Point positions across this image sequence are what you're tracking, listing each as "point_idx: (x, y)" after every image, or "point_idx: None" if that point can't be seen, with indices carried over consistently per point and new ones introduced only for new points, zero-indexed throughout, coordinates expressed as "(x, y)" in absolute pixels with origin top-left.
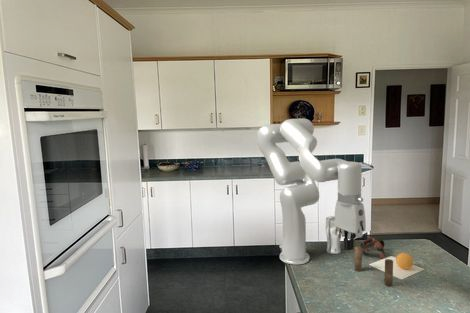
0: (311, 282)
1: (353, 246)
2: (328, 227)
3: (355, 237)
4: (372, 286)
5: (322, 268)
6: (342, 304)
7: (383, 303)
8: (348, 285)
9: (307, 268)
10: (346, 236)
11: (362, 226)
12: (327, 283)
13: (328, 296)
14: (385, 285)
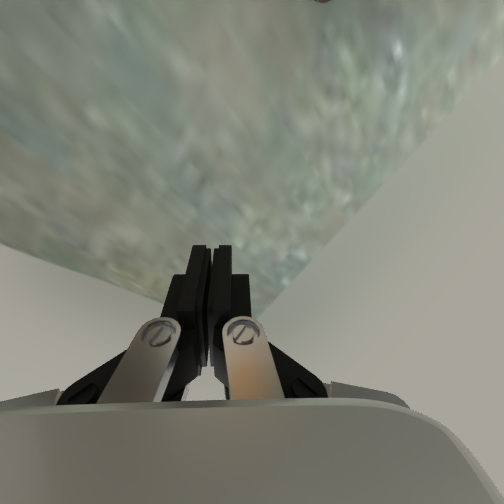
0: (135, 256)
1: (248, 278)
2: None
3: (286, 361)
4: (281, 77)
5: (37, 142)
6: (284, 265)
7: (371, 158)
8: (216, 164)
9: (21, 200)
10: (191, 376)
11: (412, 494)
12: (166, 218)
13: None
14: (317, 1)
